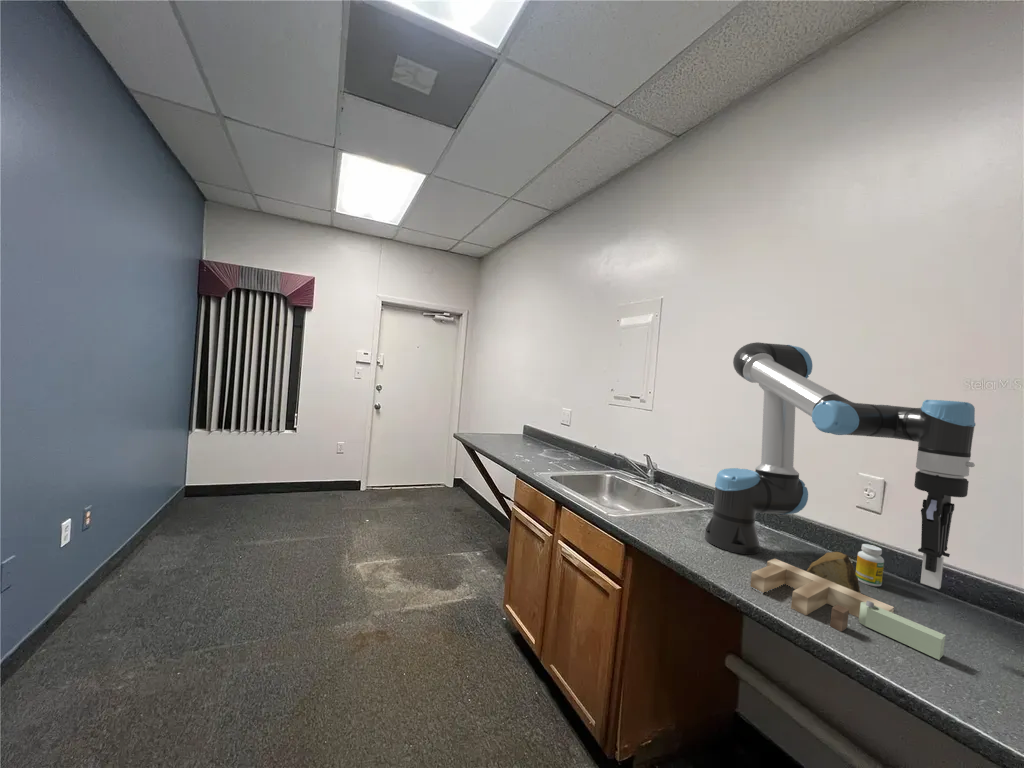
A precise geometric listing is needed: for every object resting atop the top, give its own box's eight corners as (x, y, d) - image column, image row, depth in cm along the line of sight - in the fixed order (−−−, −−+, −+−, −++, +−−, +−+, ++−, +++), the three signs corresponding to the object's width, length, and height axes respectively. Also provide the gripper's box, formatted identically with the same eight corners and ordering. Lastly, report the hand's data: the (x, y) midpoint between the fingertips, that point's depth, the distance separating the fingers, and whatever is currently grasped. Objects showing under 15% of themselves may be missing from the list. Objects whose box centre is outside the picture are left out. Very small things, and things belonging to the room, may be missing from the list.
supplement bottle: (858, 574, 110) (862, 541, 109) (884, 584, 105) (888, 549, 105) (851, 579, 107) (855, 544, 106) (878, 589, 102) (882, 553, 102)
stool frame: (743, 584, 99) (745, 569, 99) (773, 572, 107) (774, 558, 107) (867, 645, 78) (869, 625, 78) (891, 624, 86) (894, 607, 86)
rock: (792, 568, 105) (833, 583, 96) (805, 541, 108) (846, 552, 98) (816, 590, 107) (858, 607, 98) (828, 563, 110) (870, 577, 100)
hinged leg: (856, 621, 86) (858, 600, 86) (861, 618, 88) (863, 597, 87) (939, 659, 75) (942, 635, 75) (943, 655, 77) (946, 631, 77)
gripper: (960, 481, 75) (948, 602, 76) (975, 476, 82) (964, 587, 83) (907, 471, 82) (896, 583, 82) (925, 467, 89) (914, 570, 89)
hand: (930, 585), depth 83 cm, fingers closed
